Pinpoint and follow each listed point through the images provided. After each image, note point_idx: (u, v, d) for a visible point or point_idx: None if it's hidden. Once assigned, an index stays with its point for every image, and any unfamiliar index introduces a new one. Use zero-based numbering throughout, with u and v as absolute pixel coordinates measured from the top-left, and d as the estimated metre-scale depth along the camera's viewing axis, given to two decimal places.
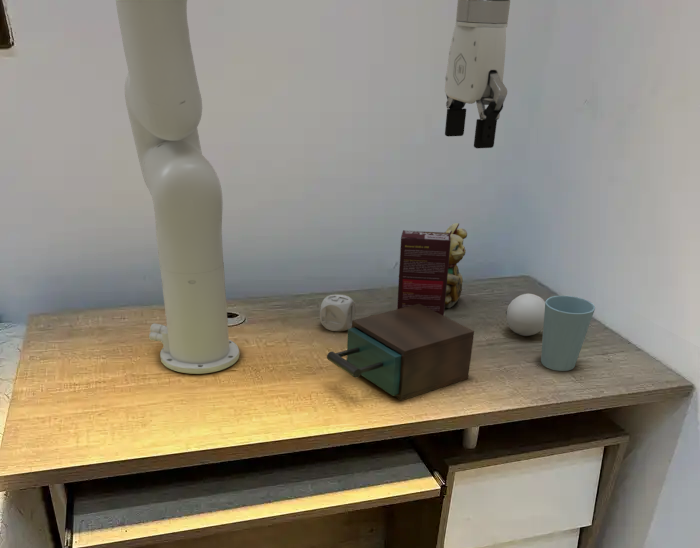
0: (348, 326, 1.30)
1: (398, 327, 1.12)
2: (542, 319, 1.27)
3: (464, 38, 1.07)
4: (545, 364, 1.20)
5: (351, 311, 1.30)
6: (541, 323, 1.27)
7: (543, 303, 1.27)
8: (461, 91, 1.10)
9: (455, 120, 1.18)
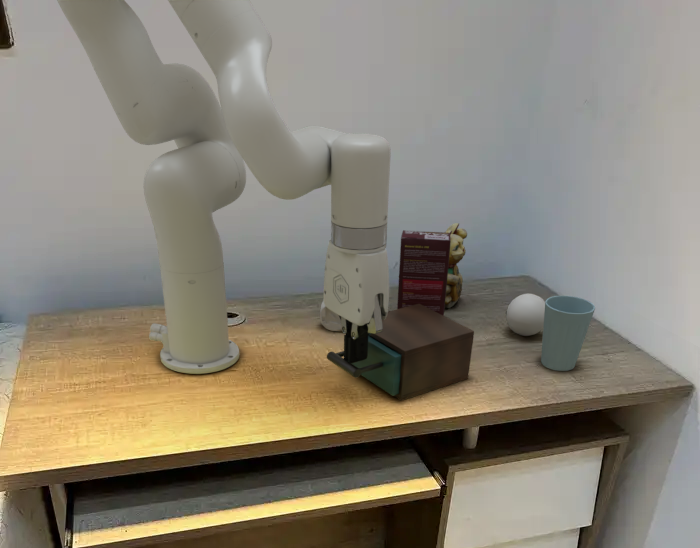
0: None
1: (398, 327, 1.12)
2: (542, 319, 1.27)
3: (342, 260, 0.99)
4: (545, 364, 1.20)
5: None
6: (541, 323, 1.27)
7: (543, 303, 1.27)
8: (346, 311, 1.02)
9: None
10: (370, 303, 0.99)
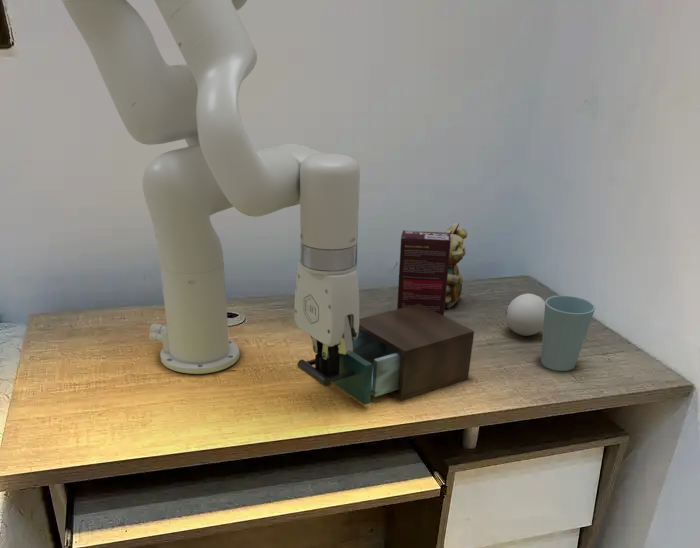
0: None
1: (398, 327, 1.12)
2: (542, 319, 1.27)
3: (312, 281, 0.98)
4: (545, 364, 1.20)
5: None
6: (541, 323, 1.27)
7: (543, 303, 1.27)
8: (316, 331, 1.01)
9: None
10: (340, 324, 0.98)
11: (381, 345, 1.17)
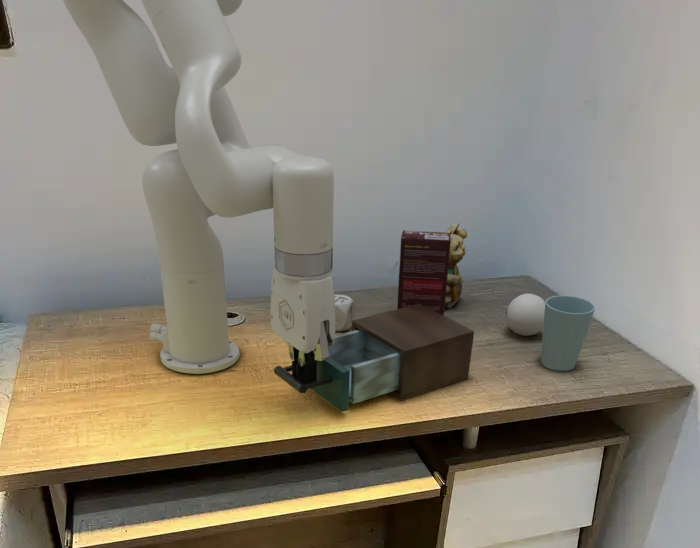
0: (348, 326, 1.30)
1: (398, 327, 1.12)
2: (542, 319, 1.27)
3: (287, 286, 0.96)
4: (545, 364, 1.20)
5: (351, 311, 1.30)
6: (541, 323, 1.27)
7: (543, 303, 1.27)
8: (292, 338, 0.99)
9: None
10: (315, 331, 0.96)
11: (361, 351, 1.15)
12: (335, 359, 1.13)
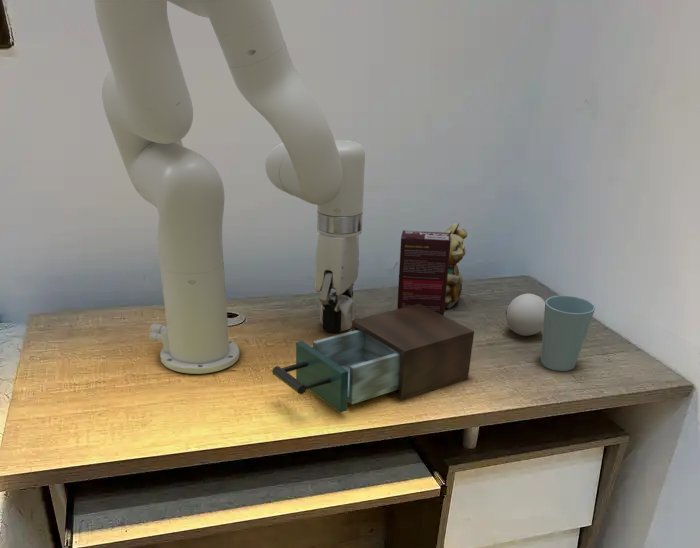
0: (348, 326, 1.30)
1: (398, 327, 1.12)
2: (542, 319, 1.27)
3: None
4: (545, 364, 1.20)
5: (351, 311, 1.30)
6: (541, 323, 1.27)
7: (543, 303, 1.27)
8: None
9: None
10: (319, 275, 1.23)
11: (360, 351, 1.15)
12: (334, 359, 1.13)
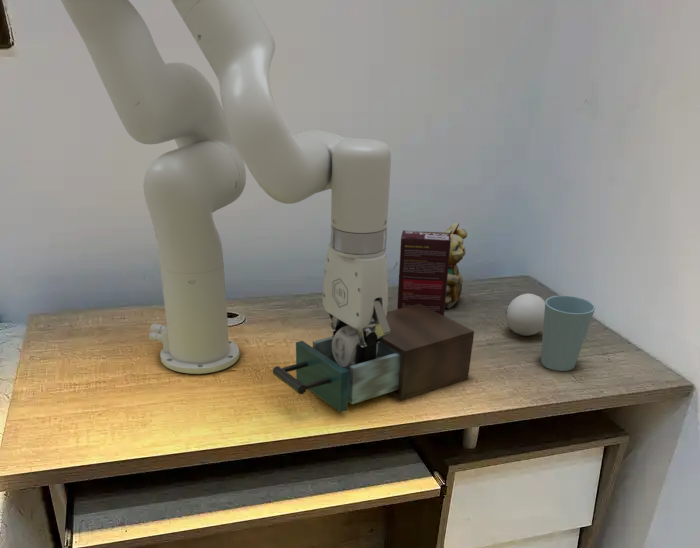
0: None
1: (398, 327, 1.12)
2: (542, 319, 1.27)
3: (342, 264, 0.99)
4: (545, 364, 1.20)
5: None
6: (541, 323, 1.27)
7: (543, 303, 1.27)
8: (345, 315, 1.02)
9: None
10: (369, 307, 0.99)
11: None
12: (334, 359, 1.13)
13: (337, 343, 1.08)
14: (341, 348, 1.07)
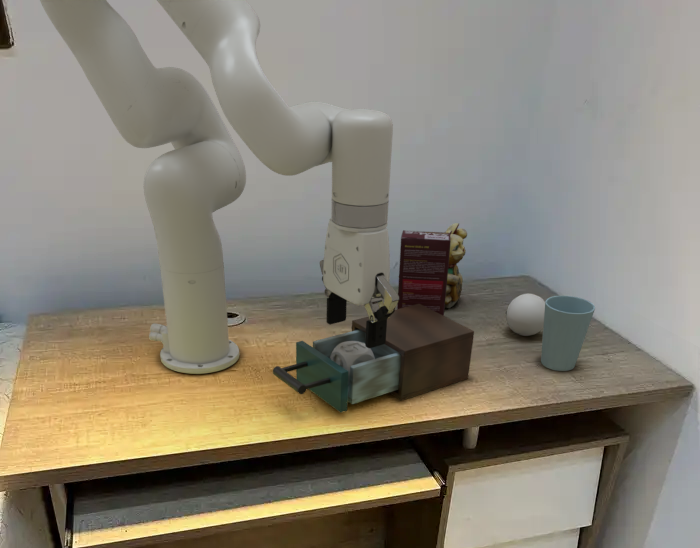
0: None
1: (398, 327, 1.12)
2: (542, 319, 1.27)
3: (343, 239, 0.97)
4: (545, 364, 1.20)
5: None
6: (541, 323, 1.27)
7: (543, 303, 1.27)
8: (346, 291, 1.00)
9: (336, 308, 1.08)
10: (370, 283, 0.97)
11: None
12: None
13: (335, 359, 1.09)
14: (339, 364, 1.08)
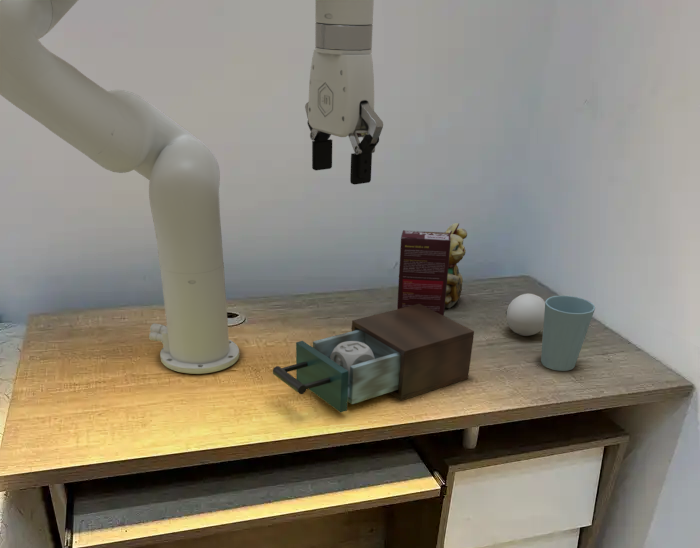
0: None
1: (398, 327, 1.12)
2: (542, 319, 1.27)
3: (327, 66, 0.97)
4: (545, 364, 1.20)
5: None
6: (541, 323, 1.27)
7: (543, 303, 1.27)
8: (330, 123, 1.00)
9: (322, 152, 1.08)
10: (354, 110, 0.97)
11: None
12: None
13: (335, 359, 1.09)
14: (339, 364, 1.08)
